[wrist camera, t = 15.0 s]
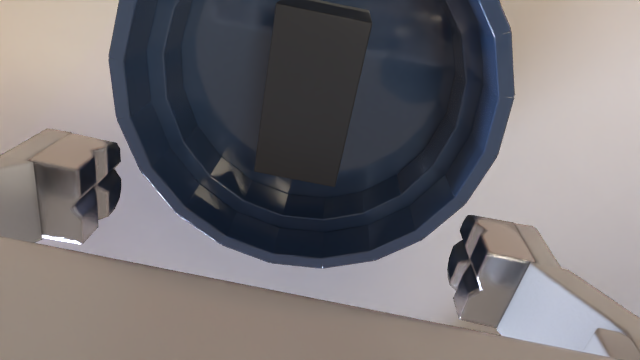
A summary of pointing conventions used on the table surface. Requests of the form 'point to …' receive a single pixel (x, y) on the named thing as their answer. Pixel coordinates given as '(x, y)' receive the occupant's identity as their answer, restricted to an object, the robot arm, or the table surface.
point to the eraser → (310, 88)
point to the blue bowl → (363, 133)
